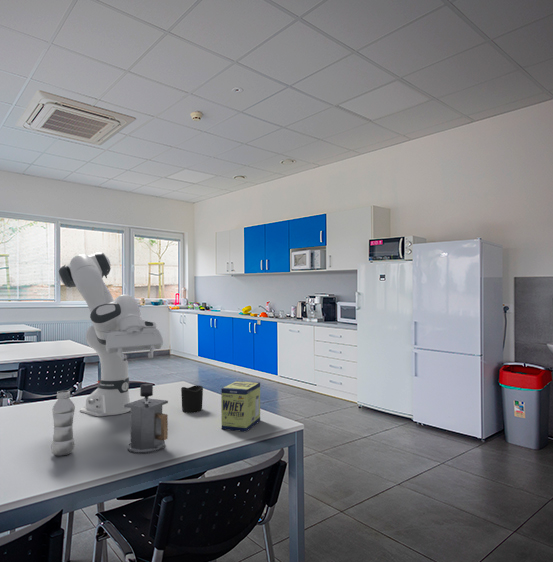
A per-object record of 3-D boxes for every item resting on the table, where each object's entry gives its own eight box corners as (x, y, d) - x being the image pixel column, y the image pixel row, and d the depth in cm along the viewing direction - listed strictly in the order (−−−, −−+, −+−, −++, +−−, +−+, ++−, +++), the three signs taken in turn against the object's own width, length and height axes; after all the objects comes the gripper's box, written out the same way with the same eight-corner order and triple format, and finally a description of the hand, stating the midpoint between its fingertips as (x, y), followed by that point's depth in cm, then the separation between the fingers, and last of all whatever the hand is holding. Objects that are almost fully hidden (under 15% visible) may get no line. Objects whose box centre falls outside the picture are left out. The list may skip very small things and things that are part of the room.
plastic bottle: (56, 451, 141) (56, 389, 141) (77, 450, 142) (78, 389, 142) (47, 458, 134) (48, 394, 135) (69, 457, 135) (70, 393, 136)
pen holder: (185, 407, 195) (185, 385, 195) (205, 408, 193) (205, 385, 193) (177, 412, 185) (177, 389, 186) (198, 413, 184) (198, 390, 184)
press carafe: (119, 450, 141) (119, 405, 141) (144, 439, 152) (144, 397, 152) (153, 456, 135) (153, 409, 136) (176, 444, 146) (176, 400, 147)
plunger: (129, 442, 142) (129, 386, 143) (145, 435, 149) (145, 381, 150) (147, 445, 139) (147, 388, 140) (162, 438, 146) (162, 383, 147)
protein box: (220, 429, 162) (220, 388, 163) (237, 418, 177) (237, 380, 178) (246, 432, 159) (246, 390, 160) (260, 420, 174) (260, 381, 174)
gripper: (103, 325, 157) (108, 356, 148) (159, 322, 167) (167, 350, 159) (101, 336, 161) (106, 367, 152) (156, 332, 171) (163, 361, 163)
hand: (138, 358), depth 156 cm, fingers open, 8 cm apart
